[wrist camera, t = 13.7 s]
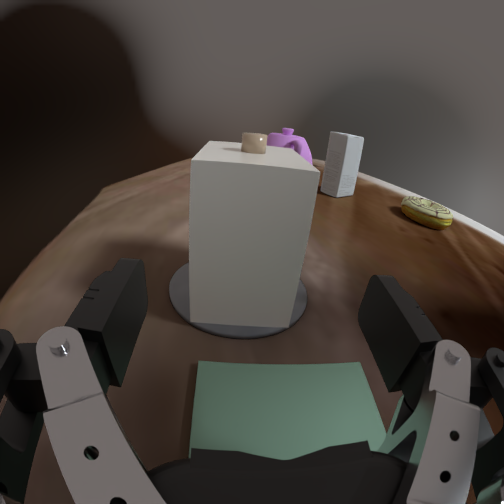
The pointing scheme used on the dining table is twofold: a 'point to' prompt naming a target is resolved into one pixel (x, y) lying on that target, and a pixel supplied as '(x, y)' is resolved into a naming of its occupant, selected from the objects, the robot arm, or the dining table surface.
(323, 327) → the dining table surface
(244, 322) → the ceramic cover
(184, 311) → the slate coaster
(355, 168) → the skincare box
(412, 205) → the decorated donut
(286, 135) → the teapot
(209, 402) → the felt mat
